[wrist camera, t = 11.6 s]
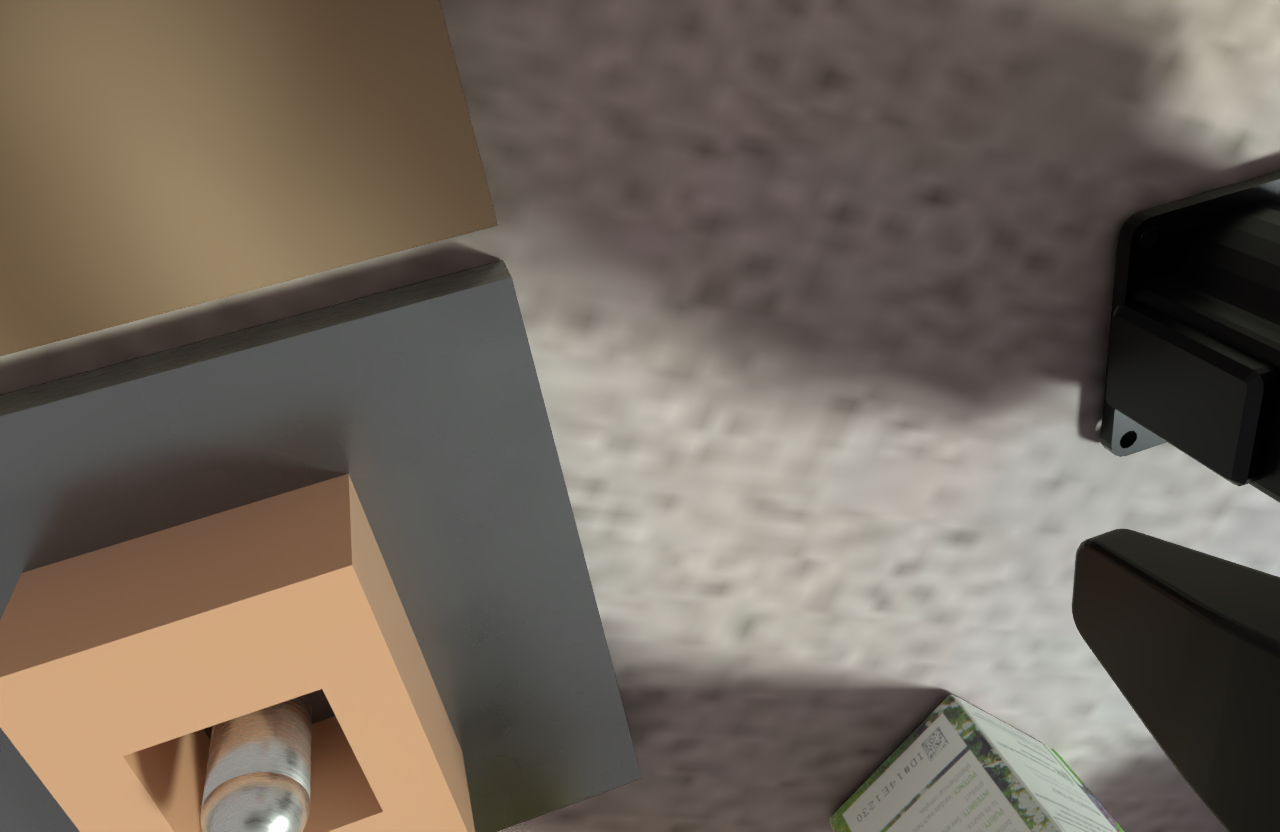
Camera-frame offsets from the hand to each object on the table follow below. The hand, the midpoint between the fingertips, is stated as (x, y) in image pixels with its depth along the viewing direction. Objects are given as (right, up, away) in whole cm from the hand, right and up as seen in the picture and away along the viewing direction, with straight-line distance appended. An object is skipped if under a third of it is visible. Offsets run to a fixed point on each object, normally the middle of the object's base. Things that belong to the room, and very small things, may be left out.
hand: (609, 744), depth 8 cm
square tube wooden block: (-7, -3, +12) cm, 14 cm away
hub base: (-8, -2, +13) cm, 15 cm away
